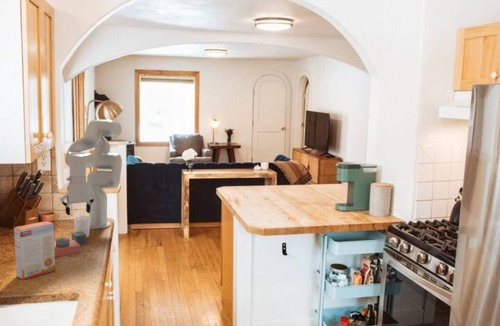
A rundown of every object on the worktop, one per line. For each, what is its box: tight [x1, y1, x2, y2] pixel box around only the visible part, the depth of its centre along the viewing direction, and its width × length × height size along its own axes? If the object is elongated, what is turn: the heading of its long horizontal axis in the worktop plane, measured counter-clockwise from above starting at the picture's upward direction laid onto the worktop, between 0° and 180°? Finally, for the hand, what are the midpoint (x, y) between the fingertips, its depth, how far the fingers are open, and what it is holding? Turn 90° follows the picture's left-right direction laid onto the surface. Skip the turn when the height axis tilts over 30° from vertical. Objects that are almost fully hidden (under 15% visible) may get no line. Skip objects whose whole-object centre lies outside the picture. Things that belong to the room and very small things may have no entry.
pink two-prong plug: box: [54, 236, 82, 258], centre depth 227 cm, size 17×14×6 cm
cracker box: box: [13, 220, 56, 280], centre depth 196 cm, size 14×6×21 cm, turn 141°
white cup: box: [73, 215, 91, 239], centre depth 250 cm, size 8×8×10 cm
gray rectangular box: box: [71, 231, 87, 246], centre depth 239 cm, size 7×5×5 cm
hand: (78, 213), depth 237 cm, fingers open, 9 cm apart
